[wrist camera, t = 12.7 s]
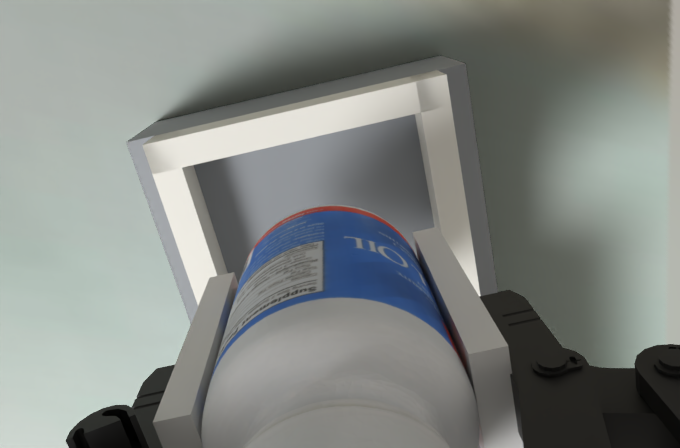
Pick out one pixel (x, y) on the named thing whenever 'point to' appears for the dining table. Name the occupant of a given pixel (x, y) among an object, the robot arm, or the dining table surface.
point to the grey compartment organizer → (319, 168)
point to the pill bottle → (337, 345)
